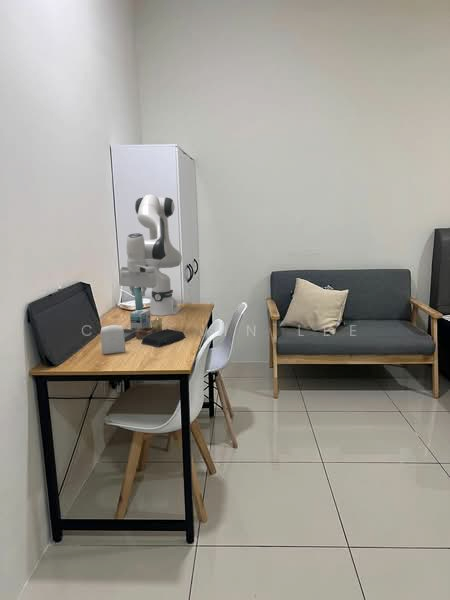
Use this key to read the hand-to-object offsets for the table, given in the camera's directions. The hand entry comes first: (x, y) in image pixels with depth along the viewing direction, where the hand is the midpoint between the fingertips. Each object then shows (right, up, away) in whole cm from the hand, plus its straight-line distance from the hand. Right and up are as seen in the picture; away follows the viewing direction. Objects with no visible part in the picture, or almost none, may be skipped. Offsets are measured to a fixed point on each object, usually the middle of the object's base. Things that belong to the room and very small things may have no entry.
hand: (138, 295), depth 223 cm
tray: (-8, -21, +4) cm, 23 cm away
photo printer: (-7, -26, -19) cm, 33 cm away
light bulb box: (-2, -19, +16) cm, 25 cm away
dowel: (0, -7, +1) cm, 7 cm away
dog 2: (+8, -19, +15) cm, 25 cm away
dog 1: (+7, -20, +10) cm, 23 cm away
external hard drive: (+13, -23, -2) cm, 26 cm away
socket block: (+3, -21, +4) cm, 21 cm away
